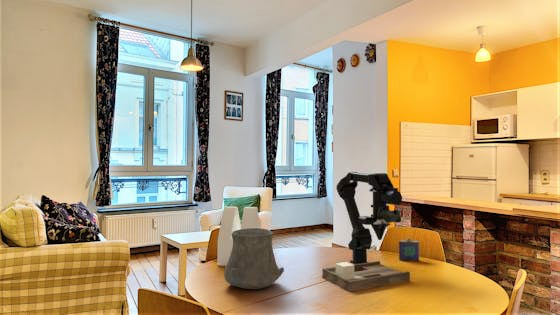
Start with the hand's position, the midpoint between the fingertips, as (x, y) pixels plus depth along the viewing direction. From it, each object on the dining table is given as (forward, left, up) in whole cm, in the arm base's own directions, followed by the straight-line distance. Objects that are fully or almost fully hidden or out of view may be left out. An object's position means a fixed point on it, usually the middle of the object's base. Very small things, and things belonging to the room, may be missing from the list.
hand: (379, 239), depth 155 cm
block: (+7, -23, -10) cm, 26 cm away
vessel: (-4, -55, -13) cm, 57 cm away
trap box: (+7, -13, -13) cm, 20 cm away
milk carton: (-40, -48, -13) cm, 64 cm away
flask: (-8, +24, -13) cm, 29 cm away
